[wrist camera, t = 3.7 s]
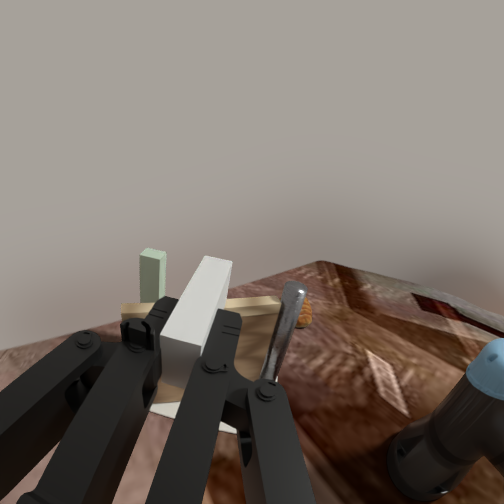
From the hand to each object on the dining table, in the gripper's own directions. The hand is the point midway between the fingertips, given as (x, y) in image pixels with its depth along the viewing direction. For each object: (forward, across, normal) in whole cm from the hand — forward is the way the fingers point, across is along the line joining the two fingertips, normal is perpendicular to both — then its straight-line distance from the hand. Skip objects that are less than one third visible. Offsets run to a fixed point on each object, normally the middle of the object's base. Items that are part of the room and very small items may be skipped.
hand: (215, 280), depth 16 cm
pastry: (+39, +13, -28) cm, 50 cm away
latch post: (+19, -12, -28) cm, 36 cm away
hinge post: (+17, +7, -28) cm, 33 cm away
